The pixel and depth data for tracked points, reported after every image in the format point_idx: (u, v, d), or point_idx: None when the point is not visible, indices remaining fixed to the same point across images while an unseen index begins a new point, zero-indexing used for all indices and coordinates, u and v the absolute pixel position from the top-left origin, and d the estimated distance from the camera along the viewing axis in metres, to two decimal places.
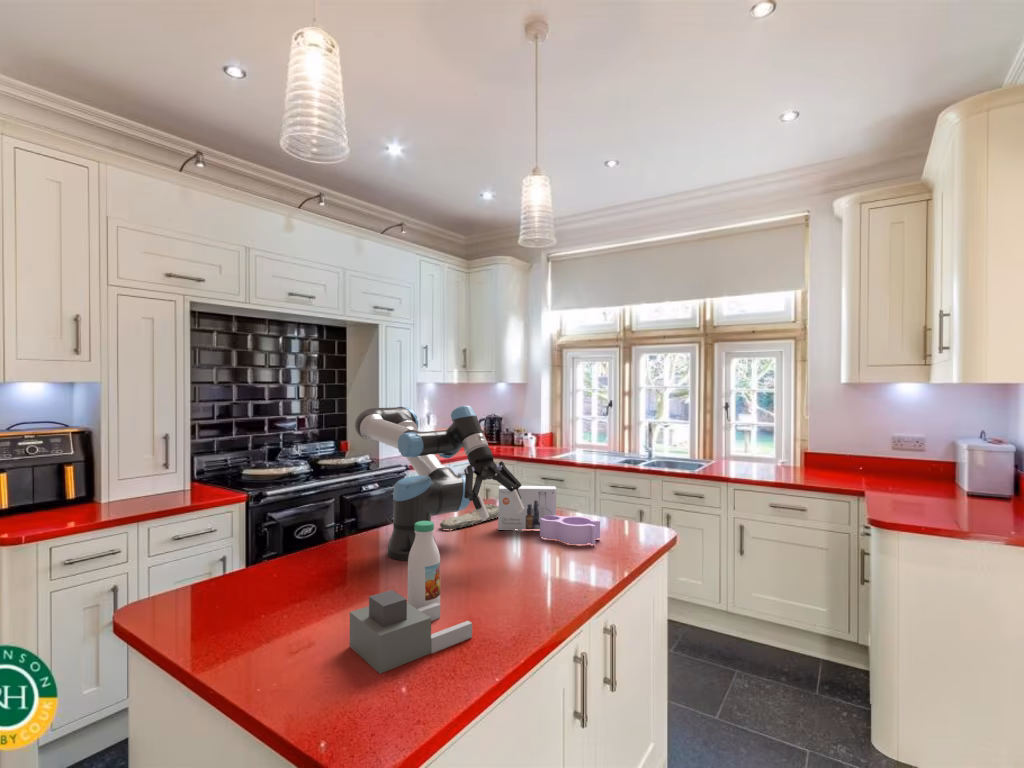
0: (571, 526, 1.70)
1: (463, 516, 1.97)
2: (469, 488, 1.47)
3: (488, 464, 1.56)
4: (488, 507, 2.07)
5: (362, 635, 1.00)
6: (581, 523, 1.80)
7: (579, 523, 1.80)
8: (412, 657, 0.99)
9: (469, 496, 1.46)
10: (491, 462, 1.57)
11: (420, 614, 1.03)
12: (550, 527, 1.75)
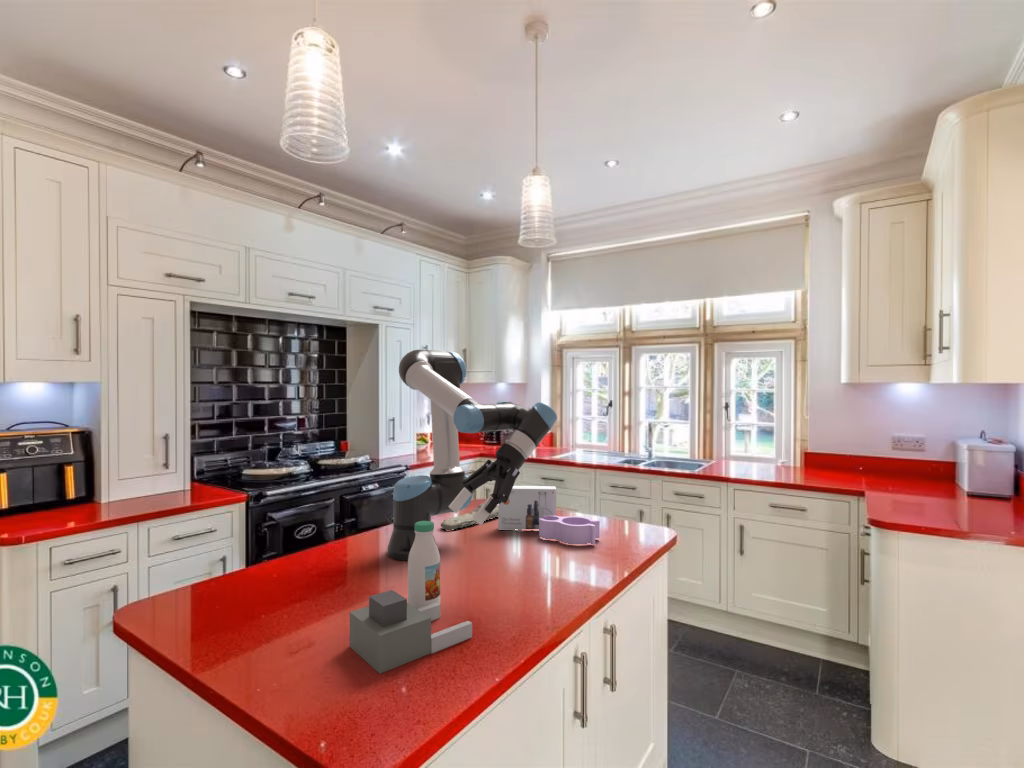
0: (571, 526, 1.70)
1: (463, 516, 1.97)
2: None
3: None
4: None
5: (362, 635, 1.00)
6: (580, 523, 1.80)
7: (578, 523, 1.80)
8: (412, 657, 0.99)
9: (501, 500, 1.23)
10: None
11: (420, 614, 1.03)
12: (550, 527, 1.75)
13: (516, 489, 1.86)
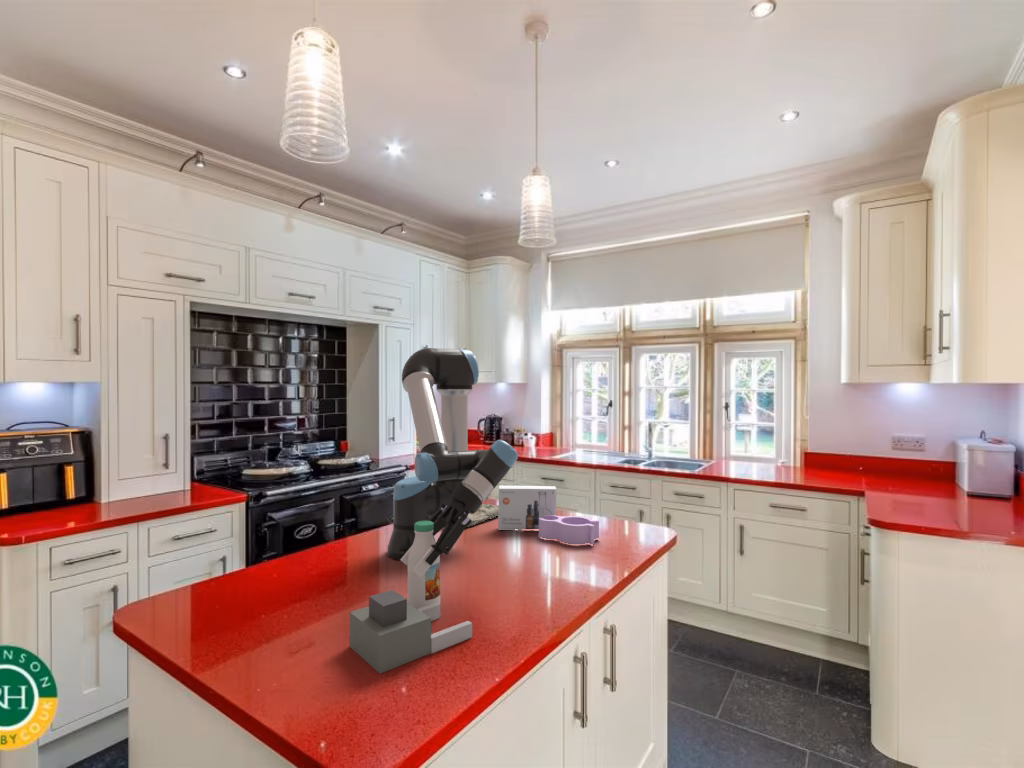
0: (570, 526, 1.70)
1: None
2: None
3: None
4: (486, 507, 2.07)
5: (362, 635, 1.00)
6: (580, 523, 1.80)
7: (578, 523, 1.80)
8: (412, 657, 0.99)
9: (442, 552, 1.19)
10: None
11: (420, 614, 1.03)
12: (549, 527, 1.75)
13: (516, 489, 1.86)
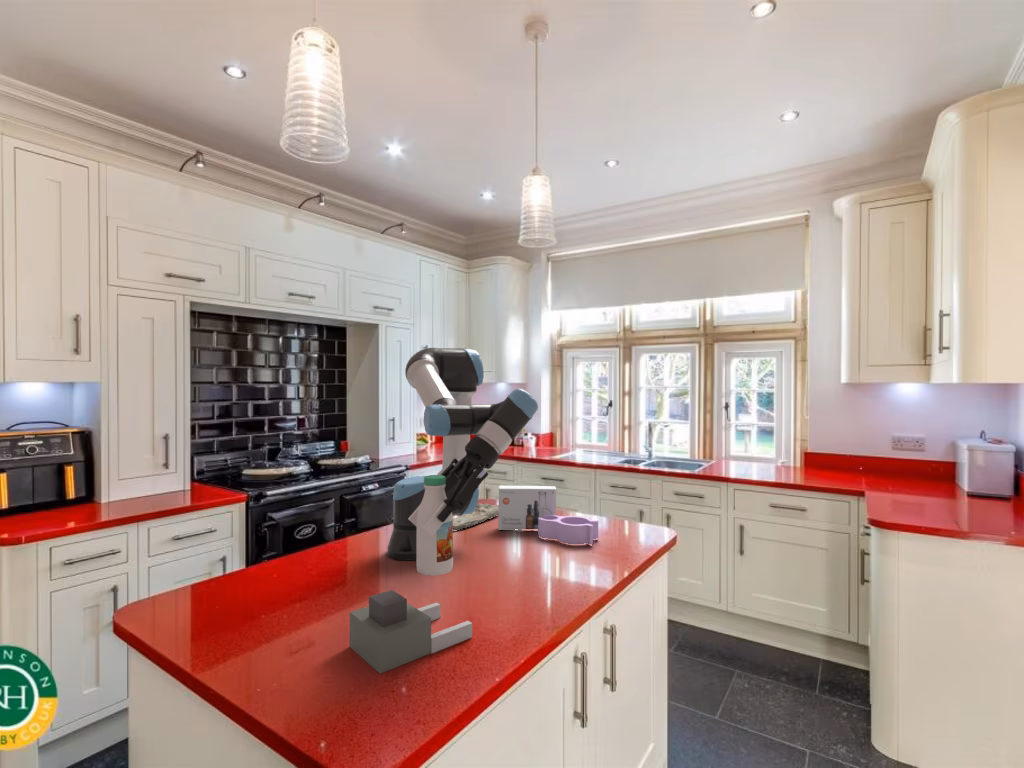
0: (569, 526, 1.70)
1: (464, 516, 1.97)
2: None
3: None
4: (485, 506, 2.08)
5: (362, 635, 1.00)
6: (579, 523, 1.80)
7: (577, 523, 1.80)
8: (412, 657, 0.99)
9: (456, 507, 1.05)
10: None
11: (420, 614, 1.03)
12: (548, 527, 1.75)
13: (516, 489, 1.86)
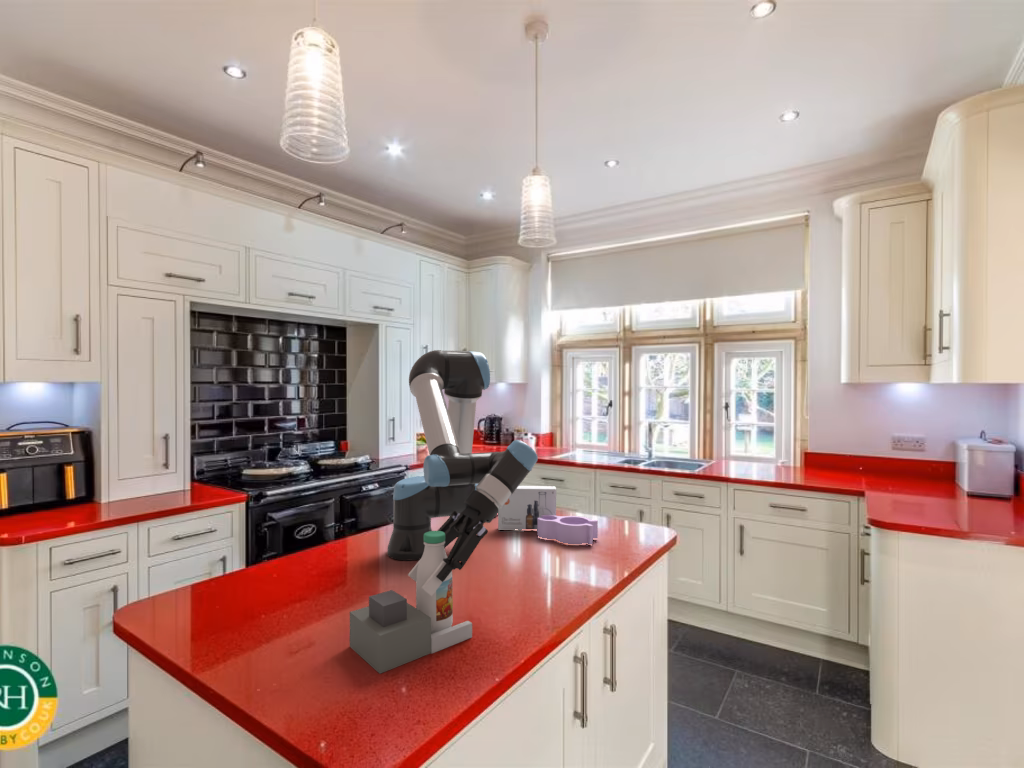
0: (568, 526, 1.70)
1: None
2: None
3: None
4: None
5: (362, 635, 1.00)
6: (579, 523, 1.80)
7: (577, 523, 1.80)
8: (412, 657, 0.99)
9: (455, 566, 1.05)
10: None
11: (420, 614, 1.03)
12: (548, 527, 1.75)
13: (516, 489, 1.86)
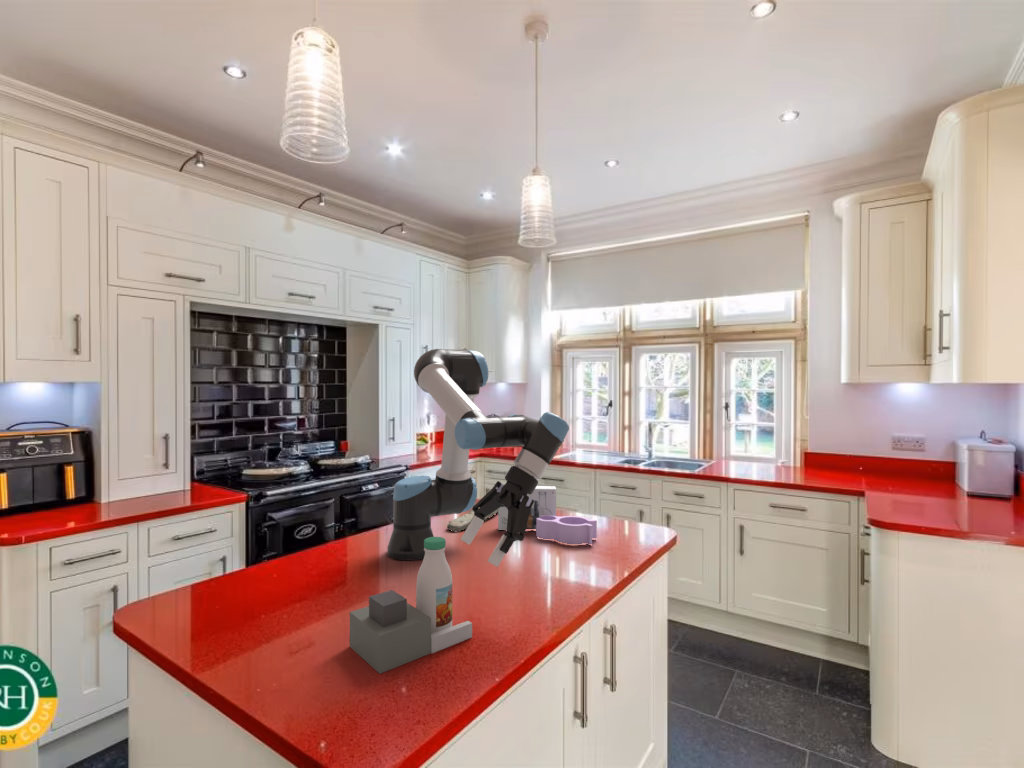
0: (568, 526, 1.70)
1: (464, 516, 1.97)
2: None
3: None
4: None
5: (362, 635, 1.00)
6: (577, 523, 1.80)
7: (575, 523, 1.80)
8: (412, 657, 0.99)
9: (517, 539, 1.11)
10: None
11: (420, 614, 1.03)
12: (547, 527, 1.75)
13: None
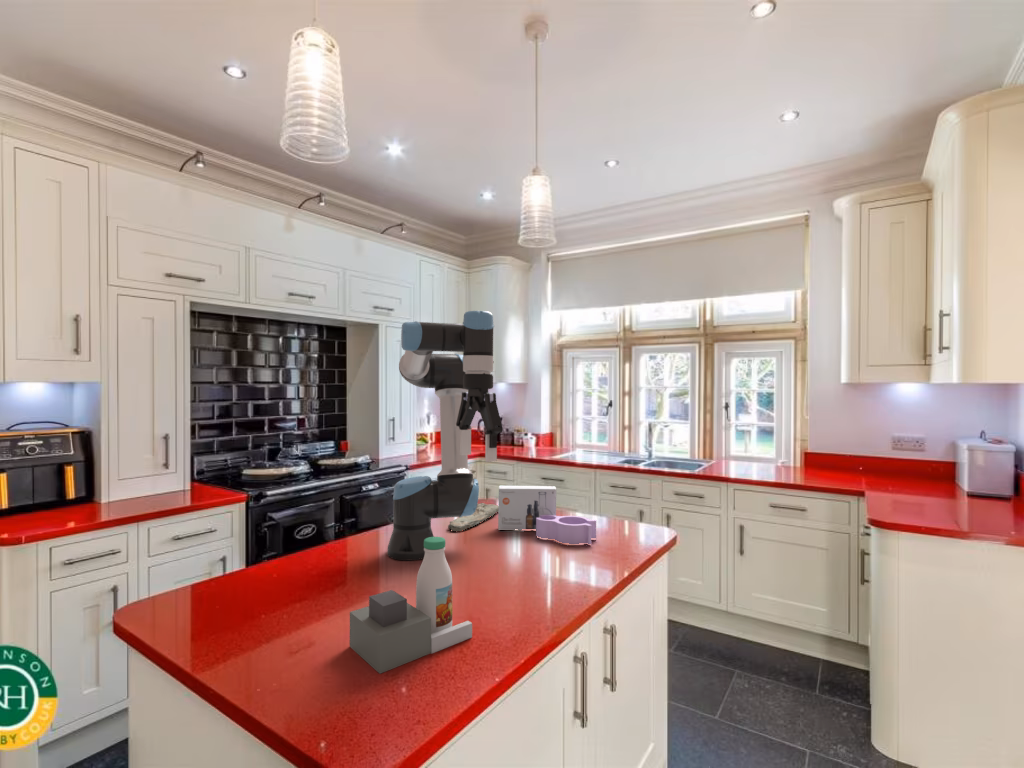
0: (567, 526, 1.70)
1: (465, 516, 1.96)
2: None
3: None
4: (482, 506, 2.08)
5: (362, 635, 1.00)
6: (577, 523, 1.80)
7: (575, 523, 1.81)
8: (412, 657, 0.99)
9: (497, 432, 1.21)
10: None
11: (420, 614, 1.03)
12: (546, 527, 1.76)
13: (516, 489, 1.86)
